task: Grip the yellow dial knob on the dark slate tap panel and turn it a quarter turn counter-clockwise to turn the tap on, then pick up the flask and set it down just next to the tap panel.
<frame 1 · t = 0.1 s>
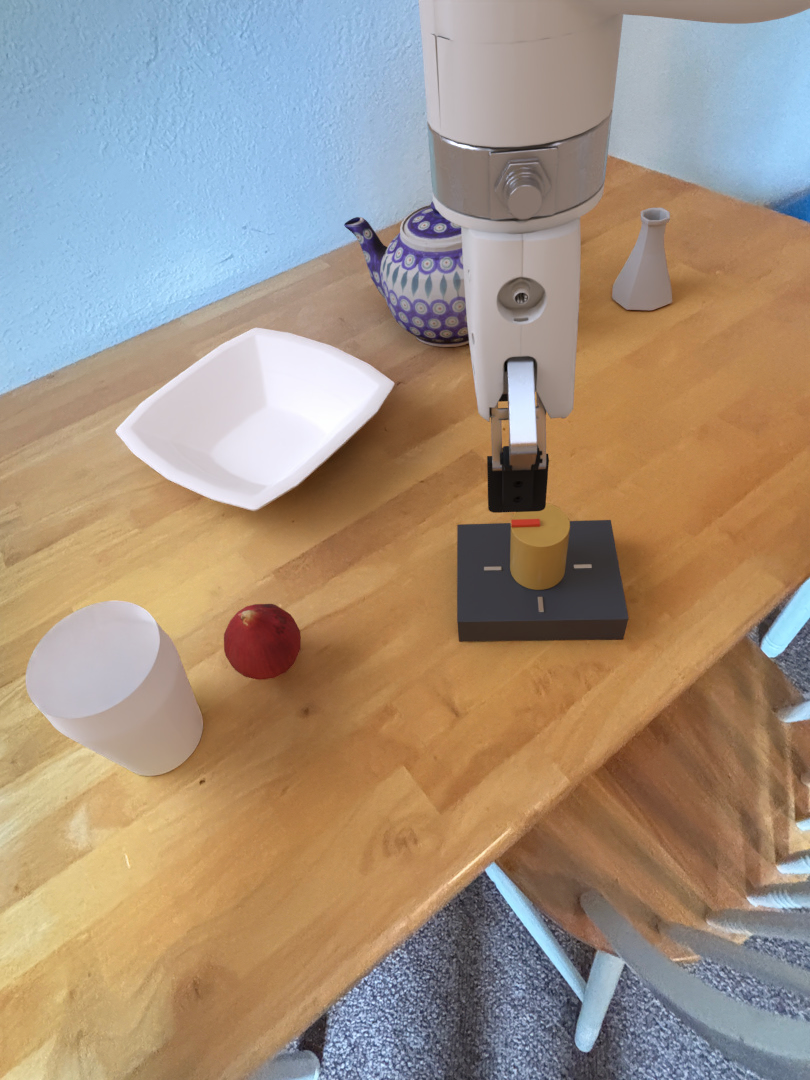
hand: (512, 449, 44), 19 cm above the table, tool pointing down, fingers open, 9 cm apart
teapot: (450, 323, 86), on the table
polyhedron: (534, 257, 94), on the table
flask: (641, 297, 85), on the table
onion: (275, 666, 58), on the table
cup: (162, 735, 55), on the table
tap panel: (535, 589, 60), on the table
yellow dial knob: (538, 545, 55), point 6 cm above the table, hinge at 0.0°
bowl: (269, 449, 75), on the table
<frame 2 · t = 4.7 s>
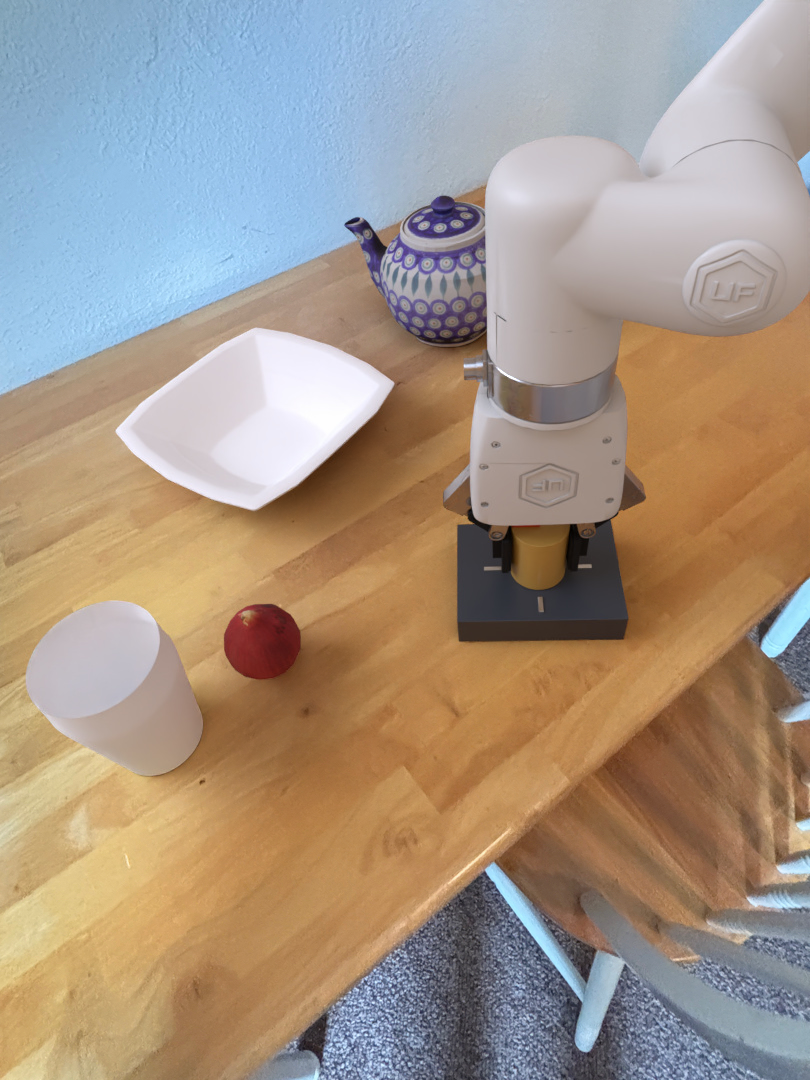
hand: (538, 556, 56), 5 cm above the table, tool pointing down, fingers closed on yellow dial knob, 4 cm apart
yellow dial knob: (538, 545, 55), point 6 cm above the table, hinge at 0.0°, touching gripper
everything else where it was.
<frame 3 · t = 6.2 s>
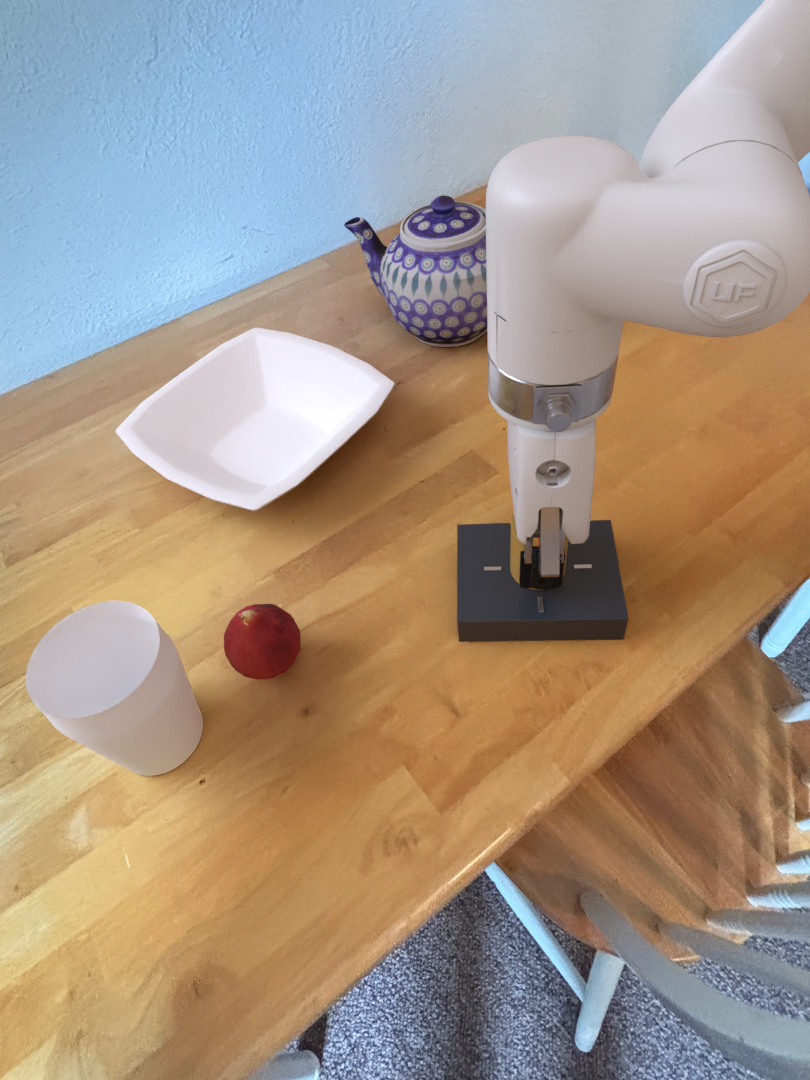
hand: (537, 556, 56), 5 cm above the table, tool pointing down, fingers closed on yellow dial knob, 4 cm apart
yellow dial knob: (538, 545, 55), point 6 cm above the table, hinge at 90.1°, touching gripper
everything else where it was.
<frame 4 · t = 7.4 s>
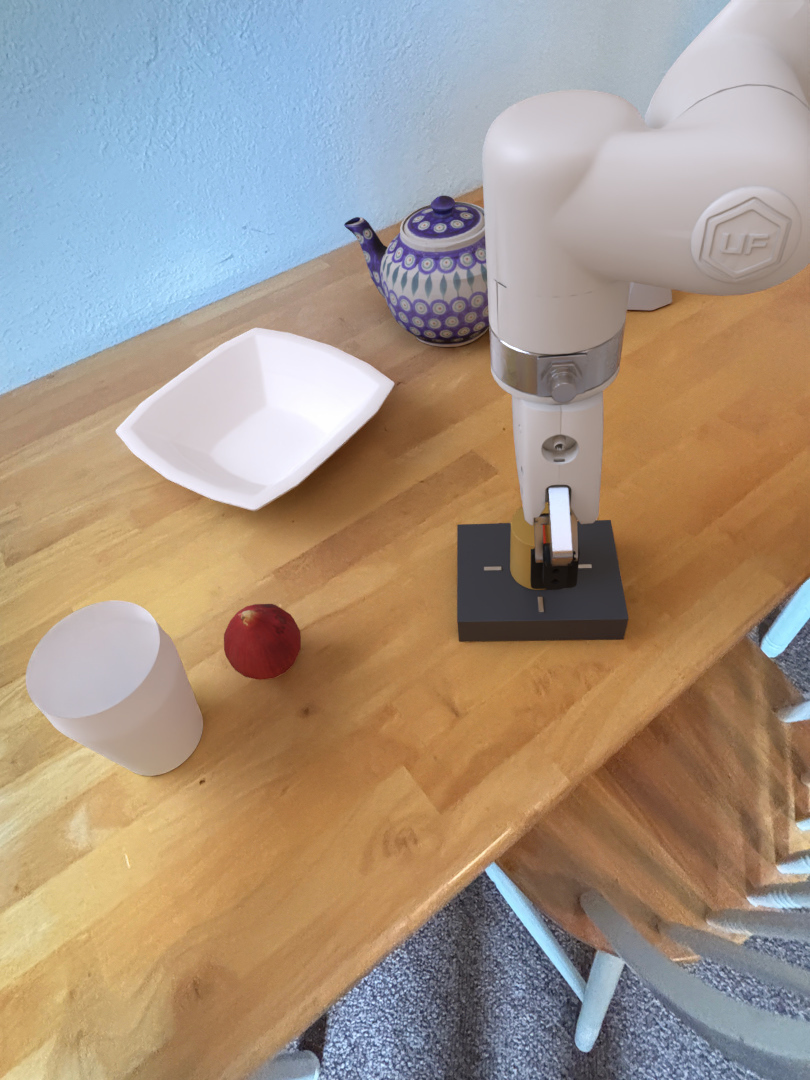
hand: (547, 533, 54), 8 cm above the table, tool pointing down, fingers open, 9 cm apart
yellow dial knob: (538, 545, 55), point 6 cm above the table, hinge at 89.7°
everything else where it was.
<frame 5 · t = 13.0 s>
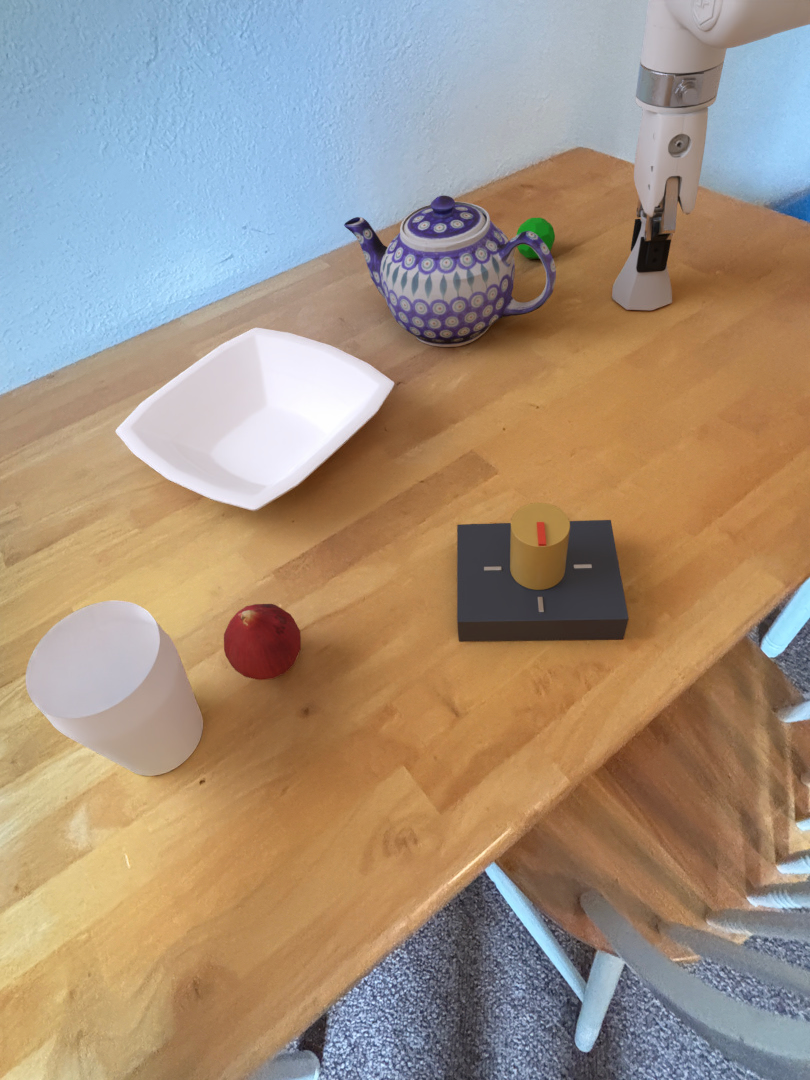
hand: (647, 259, 82), 5 cm above the table, tool pointing down, fingers closed on flask, 3 cm apart
flask: (641, 297, 85), on the table, touching gripper
everything else where it was.
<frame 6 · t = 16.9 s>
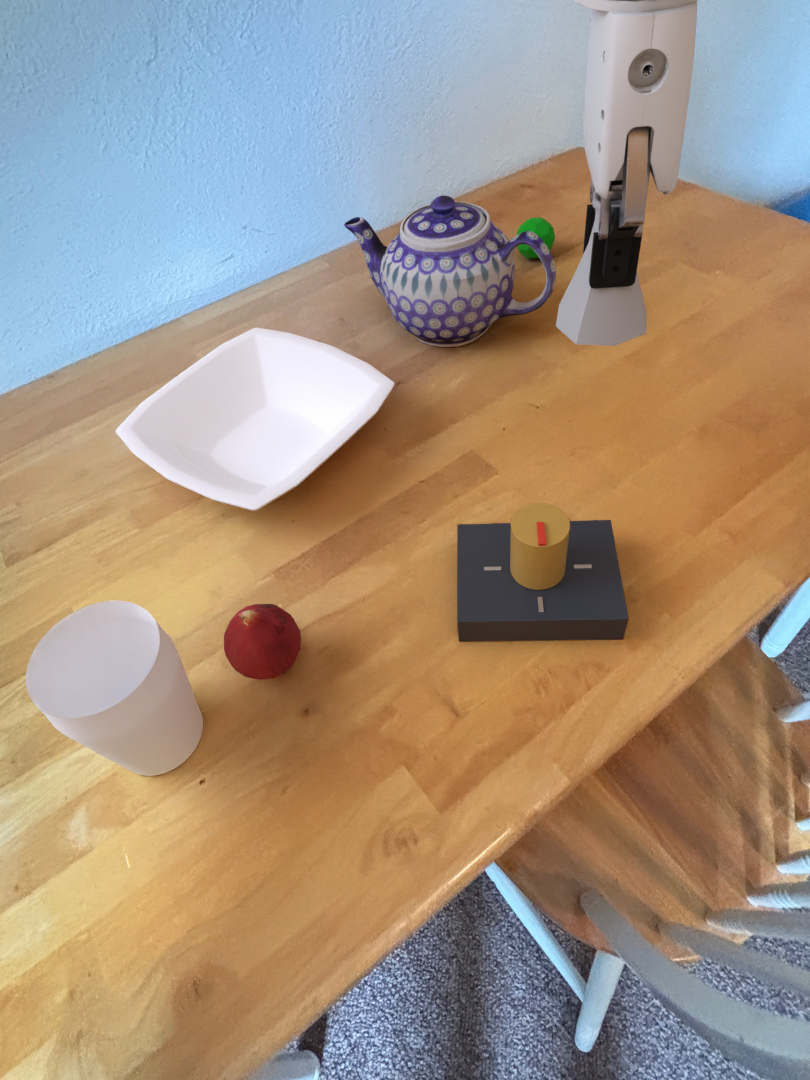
hand: (607, 268, 53), 21 cm above the table, tool pointing down, fingers closed on flask, 3 cm apart
flask: (600, 324, 56), point 16 cm above the table, touching gripper
everything else where it was.
when the fingers open (5 cm above the table, at t = 20.8 s): flask stays where it is, on the table.
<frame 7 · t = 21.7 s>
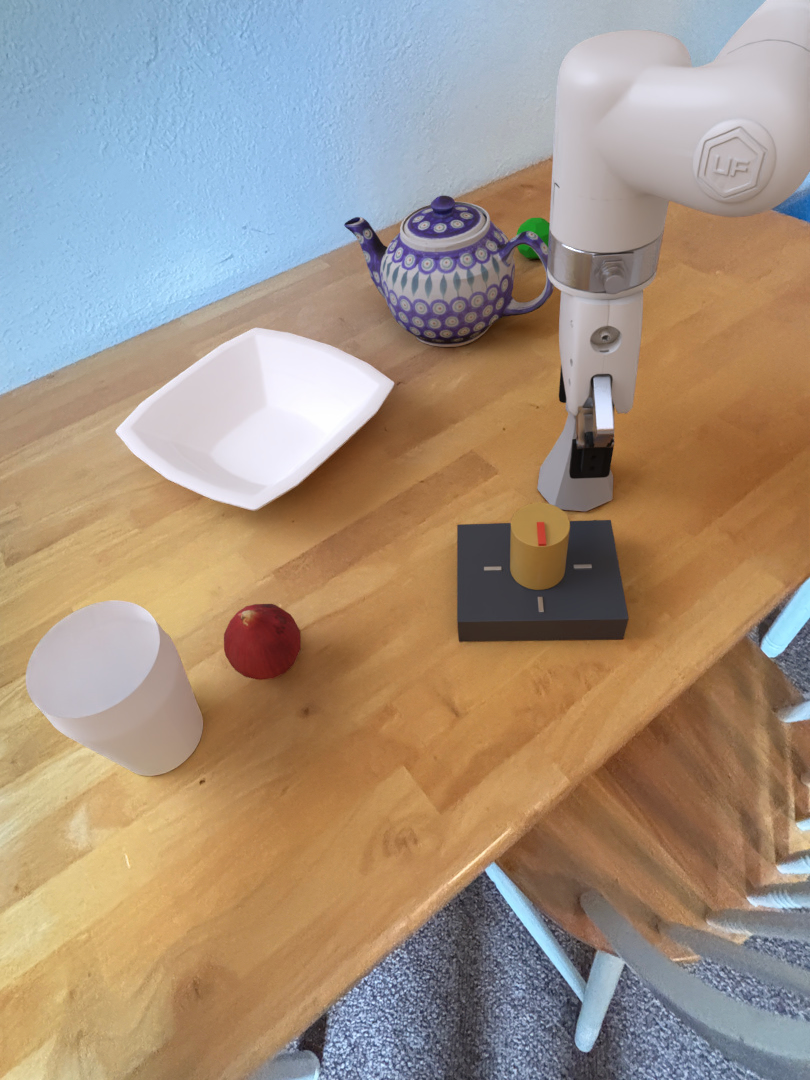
hand: (582, 436, 62), 6 cm above the table, tool pointing down, fingers open, 9 cm apart
flask: (574, 486, 67), on the table
everything else where it was.
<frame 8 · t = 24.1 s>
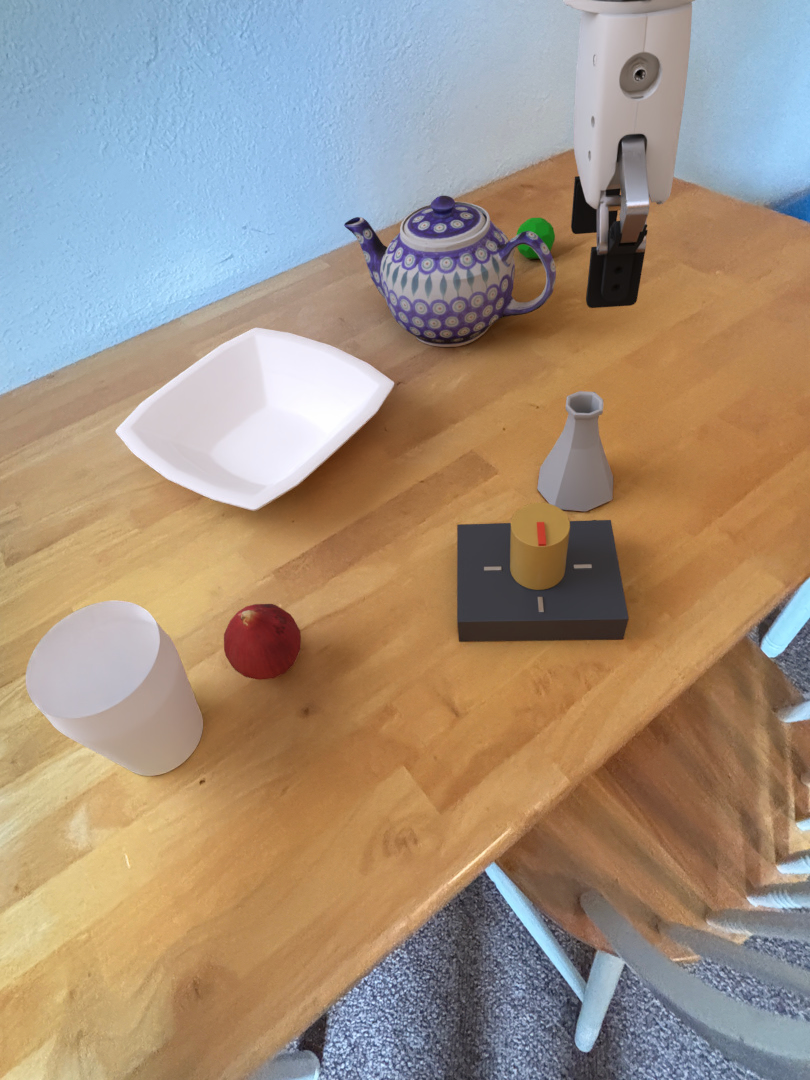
hand: (601, 265, 50), 22 cm above the table, tool pointing down, fingers open, 9 cm apart
nothing on the table moved.
at the end: yellow dial knob at +90° (first picture: +0°); flask inside the target area on the table beside the tap panel (0.0 cm from its centre), on the table; flask tilted 0° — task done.
